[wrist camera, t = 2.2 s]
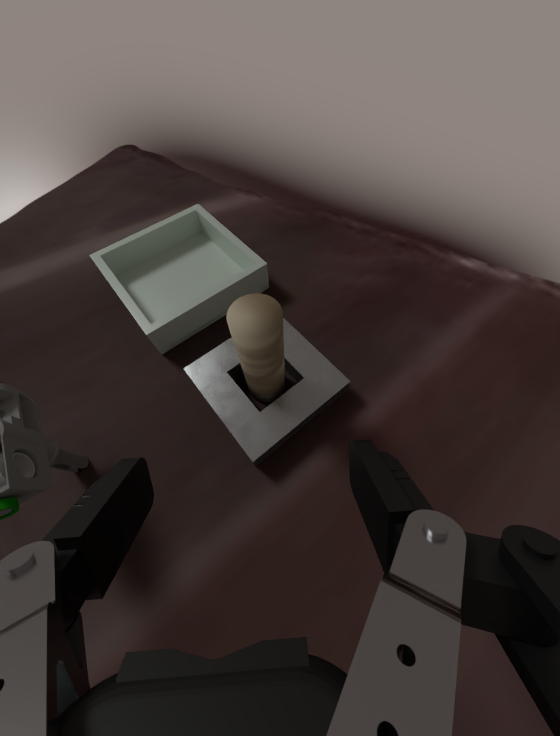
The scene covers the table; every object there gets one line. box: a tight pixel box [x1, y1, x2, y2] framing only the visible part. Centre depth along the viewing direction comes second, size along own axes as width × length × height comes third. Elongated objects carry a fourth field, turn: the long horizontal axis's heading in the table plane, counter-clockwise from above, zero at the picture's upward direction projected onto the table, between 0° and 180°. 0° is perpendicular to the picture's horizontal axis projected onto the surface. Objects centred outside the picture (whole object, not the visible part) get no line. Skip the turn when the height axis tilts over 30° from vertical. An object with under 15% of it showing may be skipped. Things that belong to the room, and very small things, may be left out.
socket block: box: [184, 318, 350, 466], centre depth 29 cm, size 12×12×2 cm
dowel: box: [226, 293, 285, 403], centre depth 25 cm, size 4×4×12 cm
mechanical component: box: [0, 382, 89, 520], centre depth 23 cm, size 3×10×10 cm, turn 32°
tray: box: [90, 204, 269, 354], centre depth 36 cm, size 16×16×4 cm
